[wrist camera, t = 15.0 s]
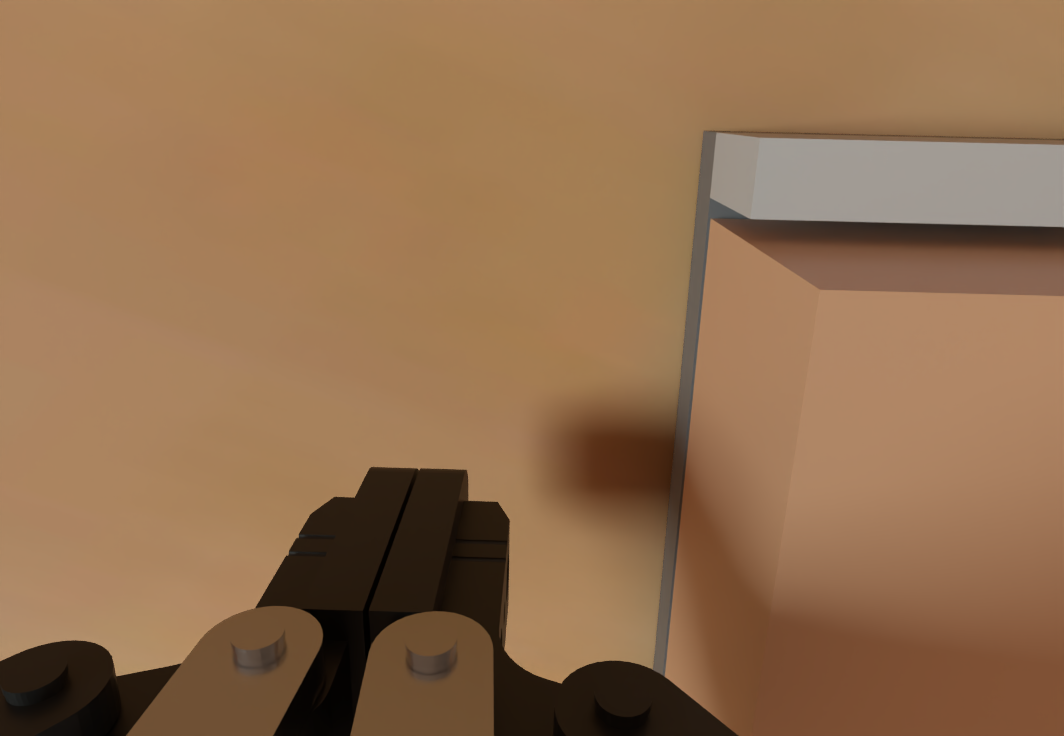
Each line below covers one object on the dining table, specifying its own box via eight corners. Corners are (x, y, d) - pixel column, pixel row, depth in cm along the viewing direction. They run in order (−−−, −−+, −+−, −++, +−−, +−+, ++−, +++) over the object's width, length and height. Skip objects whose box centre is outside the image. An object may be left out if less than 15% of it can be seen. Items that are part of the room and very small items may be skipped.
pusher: (1090, 227, 12) (1458, 306, 7) (963, 700, 15) (1158, 976, 10) (710, 218, 12) (820, 289, 7) (663, 690, 15) (717, 961, 10)
